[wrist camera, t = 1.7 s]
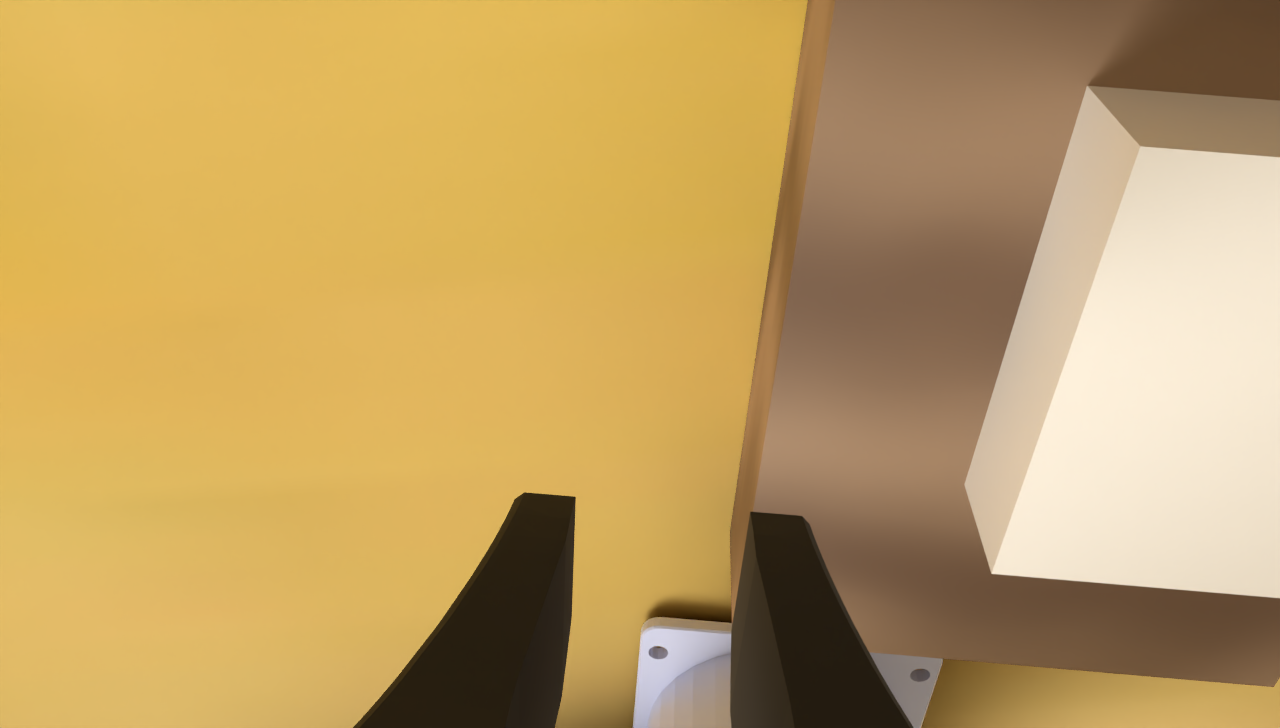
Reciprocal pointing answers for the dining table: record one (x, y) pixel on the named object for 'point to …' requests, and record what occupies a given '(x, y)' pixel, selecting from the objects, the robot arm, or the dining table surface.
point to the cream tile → (1146, 358)
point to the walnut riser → (958, 315)
